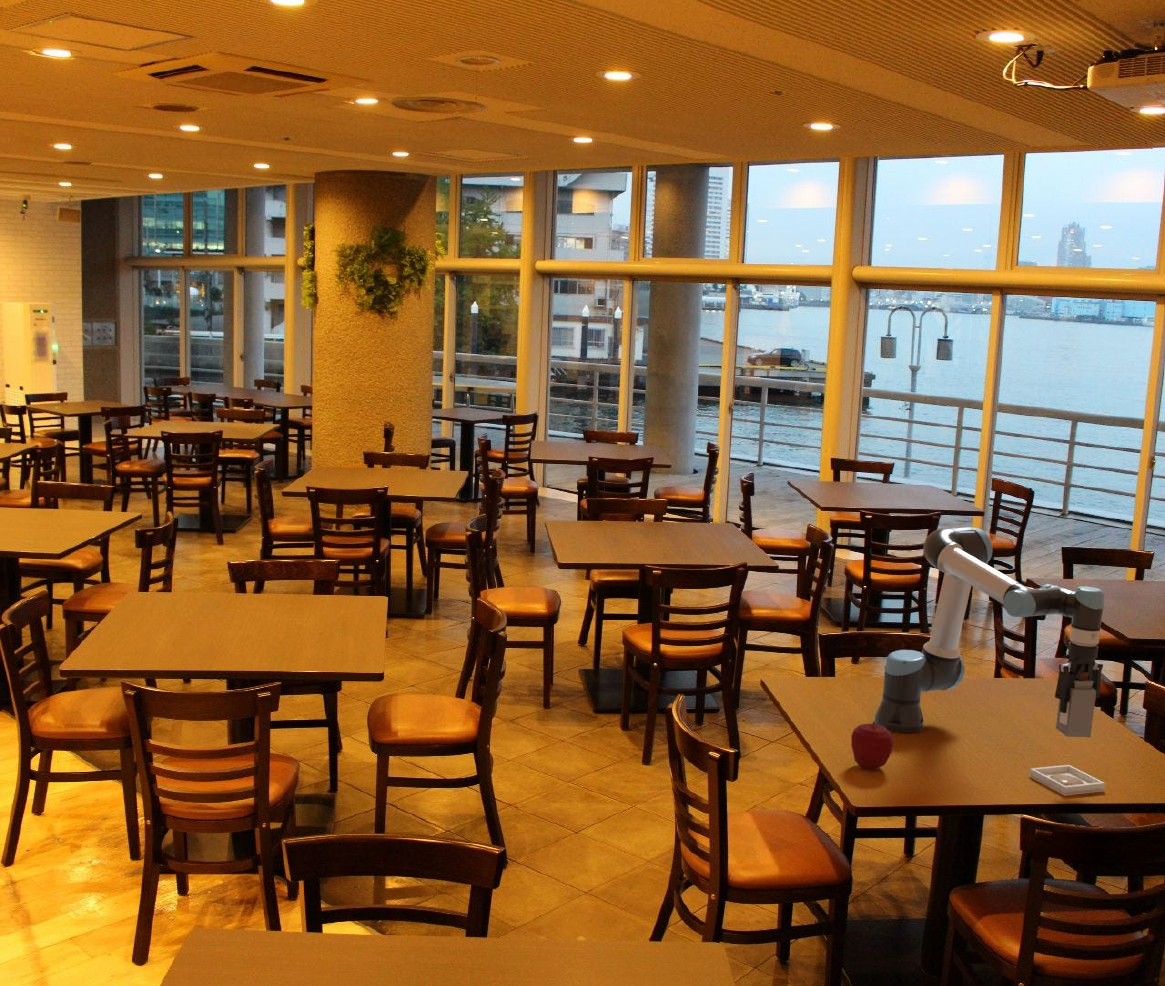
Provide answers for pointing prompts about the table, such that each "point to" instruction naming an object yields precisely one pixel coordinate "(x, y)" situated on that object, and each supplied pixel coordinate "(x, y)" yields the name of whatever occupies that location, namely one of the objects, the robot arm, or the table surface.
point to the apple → (871, 746)
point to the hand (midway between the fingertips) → (1074, 722)
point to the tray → (1067, 780)
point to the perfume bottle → (1079, 709)
